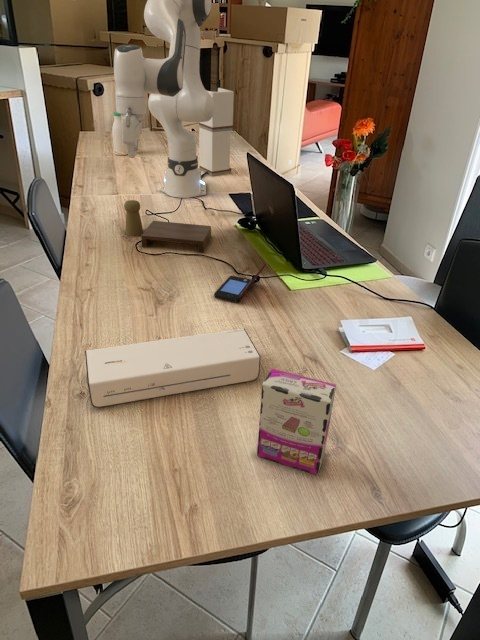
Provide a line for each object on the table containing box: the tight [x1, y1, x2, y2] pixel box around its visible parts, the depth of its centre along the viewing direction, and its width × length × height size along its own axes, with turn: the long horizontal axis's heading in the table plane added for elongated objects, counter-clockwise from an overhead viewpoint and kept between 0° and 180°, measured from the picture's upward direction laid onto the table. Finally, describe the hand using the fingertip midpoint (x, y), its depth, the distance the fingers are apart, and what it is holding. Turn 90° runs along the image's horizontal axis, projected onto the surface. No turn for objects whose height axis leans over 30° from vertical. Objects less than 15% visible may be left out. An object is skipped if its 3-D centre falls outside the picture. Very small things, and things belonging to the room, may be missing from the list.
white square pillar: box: [198, 87, 235, 177], centre depth 222 cm, size 11×11×35 cm
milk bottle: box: [111, 111, 128, 156], centre depth 246 cm, size 8×8×20 cm
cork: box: [123, 199, 144, 237], centre depth 163 cm, size 6×6×11 cm
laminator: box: [84, 327, 262, 409], centre depth 102 cm, size 34×12×6 cm, turn 107°
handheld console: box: [213, 263, 267, 304], centre depth 133 cm, size 12×11×7 cm
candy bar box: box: [256, 368, 337, 476], centre depth 82 cm, size 11×5×16 cm, turn 69°
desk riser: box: [140, 220, 212, 254], centre depth 160 cm, size 13×20×4 cm, turn 82°
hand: (133, 154), depth 154 cm, fingers open, 8 cm apart
